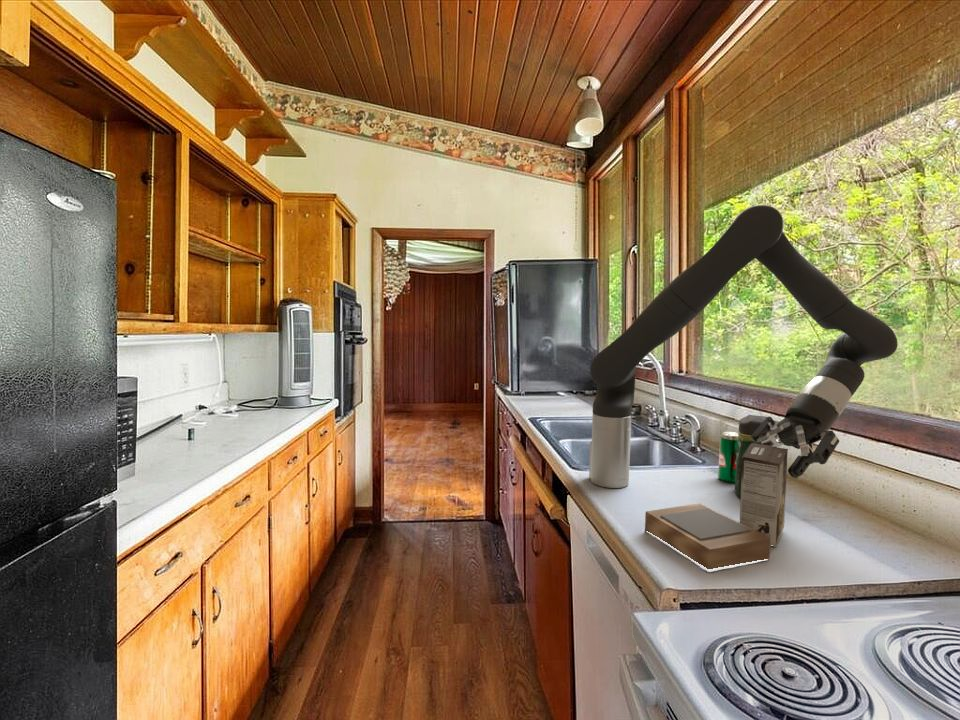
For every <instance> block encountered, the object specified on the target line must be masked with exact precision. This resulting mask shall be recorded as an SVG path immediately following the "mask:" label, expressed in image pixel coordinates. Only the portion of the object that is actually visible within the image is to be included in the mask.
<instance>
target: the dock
mask: <svg viewBox="0 0 960 720" xmlns="http://www.w3.org/2000/svg"><path fill="white" fill-rule="evenodd" d="M644 520H645V523H644V531H645V530H646V531H648V532H650V533H652V534H653V535H655V536H657V537H659V538H660V539H662V540H663V541H665V542H667V543H668V544H670V545H671V546H673V547H674V548H676V549H677V550H679V551H680V552H682V553H683V554H685V555H687V556H688V557H690V558H691V559H693V560H694V561H696V562H698V563H699V564H701V565H703V566H704V567H706V568H707V569H713V568H718V567H724V566H729V565H735V564H740V563H746V562H752V561H757V560H764V559H769V560H770V553H771V552H770V549H771V546H770V538H769V537H767V536H765V535H763V534H761V533H759V532H757V531H755V530H753V529H751V528H749V527H747V526H745V525H743V524H741V523H740V521H739V522H738V521H737V520H735V519H733V518H730V517H728V516H726V515H725V514H722V513H720V512H718V511H716V510H714V509H712V508H710V507H708V506H706V505H704V504H702V503H693V504H686V505H679V506H674V507H672V506H671V507H665V508H659V509H653V510H646V511H645V519H644Z"/></svg>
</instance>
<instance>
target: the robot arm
mask: <svg viewBox="0 0 960 720" xmlns="http://www.w3.org/2000/svg"><path fill="white" fill-rule="evenodd" d="M784 224H785V223H784V219H783V215H782V213H781V212H780V211H779V210H778V209H777V208H775V207H774V206H771V205H768V204H754V205H752V206H749V207H746V208H745V209H743V210H742V211H741V212H739V213H738V214H737V216H736V217H734V219H733V221H732V223H731V224H730V226H728V228H727V229H726V230H725V232H723V234H722V235H721V237H720V238H719V239H718V240H717V241H716V242H715V244H714V245H712V247H711V248H710V249H709V250H708V251H707V252H706V253H704V254H703V255H702V256H701V257H700V258H699V259H698V260H696V261H695V262H693V263H692V264H691V265H689V266H688V267H687V268H686V269H685V270H683V271H682V272H681V273H680V274H678V275H677V276H676V277H675V278H674V279H673V280H672V281H670V282H669V284H668V285H666V286H665V287H664V289H662V290H661V291H660V292H659V293H658V294H657V295H656V296H655V297H654V299H652V301H651V302H650V303H649V304H648V305H647V306H646V307H645V308H644V309H643V310H642V312H640V314H639V315H638V316H637V317H636V318H635V320H634V321H633V322H632V323H631V324H630V325H629V327H628V328H626V330H624V331H623V333H621V334H620V335H619V336H618V337H617V338H616V339H615V340H614V341H612V342H611V343H610V344H609V345H608V346H606V347H605V348H604V349H602V350H601V351H599V352H598V353H597V354H596V355H595V356H594V357H593V358H592V361H591V363H590V366H589V367H590V368H589V374H590V378H591V379H592V381H593V382H594V383H595V385H597V387H596V388H597V391H596V395H595V398H594V400H593V403H592V419H591V420H592V421H591V423H592V424H591V425H592V427H591V440H590V442H589V468H588V469H589V471H588V473H589V474H588V477H589V479H590V482H591V483H592V484H594V485H596V486H599V487H603V488H609V489H610V488H611V489H621V488H625V487H627V486H628V485H629V481H630V461H631V460H630V459H631V458H630V456H631V440H632V439H631V435H632V433H631V432H632V408H633V405H634V400H635V392H636V391H635V390H636V372H637V371H636V367H637V366H638V365H639V364H640V363H641V362H642V361H643V359H644V358H645V357H647V355H648V354H650V353H651V352H652V351H654V350H655V349H656V348H657V347H659V346H661V345H663V343H666V341H668V340H669V339H671V338H672V337H673V336H676V334H677V333H679V332H681V331H682V330H683V328H685V327H687V325H689V324H690V323H691V322H692V321H693V320H694V319H695V318H696V317H697V316H698V315H699V314H700V313H701V312H702V311H703V310H704V309H706V307H707V306H708V305H709V304H710V303H711V302H712V301H713V300H714V298H716V296H718V295H719V293H720V292H721V291H722V290H723V288H724V287H726V285H727V284H728V283H729V282H730V281H731V279H732V278H733V277H734V276H735V275H736V274H738V273H739V272H740V271H741V270H742V269H744V268H745V267H746V266H748V264H750V263H751V262H752V261H753V260H756V261H758V262H759V263H760V264H762V266H764V267H765V268H766V269H767V270H768V271H769V272H770V273H771V274H773V276H775V278H776V279H777V280H778V281H779V282H780V283H781V284H782V285H783V287H784V288H785V289H786V290H787V291H788V292H789V294H790V295H791V296H792V297H793V298H794V299H795V300H796V302H797V303H798V304H799V305H800V306H801V307H802V308H803V310H805V312H806V313H807V314H808V316H810V317H811V318H812V319H813V320H814V321H815V322H816V324H817V325H818V326H819V327H820V328H822V329H824V330H837V331H840V332H842V333H841V334H840V335H838V337H837V338H835V340H834V341H833V342H832V344H831V346H830V348H829V351H828V353H827V356H826V358H825V361H824V362H825V363H824V364H823V365H822V367H821V368H820V369H819V370H818V371H817V372H816V374H815V375H814V377H813V378H812V379H811V380H810V381H809V382H808V383H807V384H806V385H805V386H804V387H803V389H802V390H801V391H800V392H799V394H798V395H797V397H795V399H794V401H792V403H791V405H789V406H788V407H787V410H786V412H785V416H784V418H782V419H781V420H780V421H778V420H774V419H773V417H771V416H766V417H767V418H766V419H765V420H764V421H763V422H762V423H761V425H760V426H759V427H758V428H757V429H756V430H755V431H754V433H753V434H752V435H751V438H752V439H753V440H754V442H755V443H756V444H763V445H769V446H774V447H777V448H780V447H781V446H786V447H792V448H794V449H797V450H800V454H801V455H798V456H796V458H795V460H794V461H792V463H791V465H790V466H789V468H787V472H788V474H789V475H790V477H791V478H794V479H797V478H799V477H801V476H802V475H804V473H805V472H806V470H808V468H809V466H810V465H812V464H814V463H817V464H819V465H825V464H826V463H827V462H828V460H829V459H830V457H831V455H832V454H833V453H834V451H835V449H836V447H837V446H838V445H839V443H840V439H839V438H838V436H837V435H836V433H835V431H833V430H830V429H831V427H832V426H833V425H834V424H835V423H836V421H837V419H838V418H839V417H840V416H841V414H842V413H843V412H844V410H845V408H846V407H847V406H848V404H849V401H850V400H851V398H852V397H853V395H854V394H855V393H856V392H857V390H858V389H859V387H860V386H861V384H862V383H863V381H864V379H865V371H864V369H863V367H861V366H862V365H863V364H865V363H869V362H875V361H879V360H883V359H886V358H889V357H890V356H892V355H894V353H895V352H896V351H897V348H898V344H899V343H898V338H897V336H896V333H895V332H894V330H893V329H892V328H891V327H890V326H889V325H888V324H887V323H886V322H884V321H883V320H881V319H880V318H878V317H876V316H875V315H873V314H871V312H869V311H867V310H866V309H863V308H862V307H861V306H858V305H857V304H855V303H854V302H853V301H852V299H850V298H849V297H848V296H847V295H846V294H845V292H843V290H842V289H841V288H840V287H839V286H838V285H837V284H836V283H835V282H834V281H833V280H832V279H831V278H830V277H829V276H828V275H826V274H825V273H824V272H823V271H821V269H819V268H818V267H816V265H814V264H813V263H812V262H810V261H809V260H808V259H807V258H806V257H805V256H804V255H803V254H802V253H801V252H800V251H799V250H797V248H796V247H795V246H794V245H793V244H792V243H791V241H790V240H789V238H788V237H787V235H786V234H785V233H784V231H783V230H784V226H785V225H784ZM760 434H762V435H761V436H760ZM776 435H778V440H777V439H776V438H775V436H776ZM759 436H760V437H759ZM769 440H771V441H770V442H768V443H765V442H767V441H769ZM817 442H818V444H817V446H816V448H815V449H814V446H813V445H814V444H815V443H817Z"/></svg>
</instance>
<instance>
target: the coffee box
mask: <svg viewBox="0 0 960 720" xmlns="http://www.w3.org/2000/svg"><path fill="white" fill-rule="evenodd" d="M788 450H789V449H788V448H785V447H783V448H782V447H774V446H769V445H763V444H756V443H751V444H750V446H749V447H748V449H747V451H746V452H745V454H744V455H743V457H742V479H741V497H740V504H739V507H740V508H739V523H741V524H743V525H745V526H747V527H749V528H751V529H753V530H755V531H757V532H759V533H761V534H763V535H765V536H767V537H769V538H770V545H773V546H778V544H779V541H780V539H781V537H782V533H783V530H784V528H785V517H786V516H785V514H786V513H785V510H786V509H785V508H786V496H787V495H786V494H787V491H786V490H787V472H788V453H789V452H788Z"/></svg>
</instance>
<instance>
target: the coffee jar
mask: <svg viewBox="0 0 960 720" xmlns="http://www.w3.org/2000/svg"><path fill="white" fill-rule="evenodd" d="M767 417H768V416H765V415H753V414H748V415H746V416H744V417H742V418H740V419H739V421H738V423H739V424H738V432H737V433H738V447H737V462H736V476H735V483H734V492H735V494H736V495H737V496H738V497H740V498H741V479H742V457H743V455H744V454H745V452H746V451H747V449H748V447H749V446H750V444H751V443H755V442H754V440H753V439H752V438H751V435H752V434H753V433H754V431H755V430H756V429H757V428H758V427H759V426H760V425H761V423H762V422H763V421H764V420H765V419H766V418H767ZM761 435H762V434H760V436H761ZM760 436H759V437H760ZM775 438H776V439H777V440H779V438H778V435H776V436H775ZM770 441H771V440H769V441H767V442H765V443H768V442H770Z"/></svg>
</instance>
